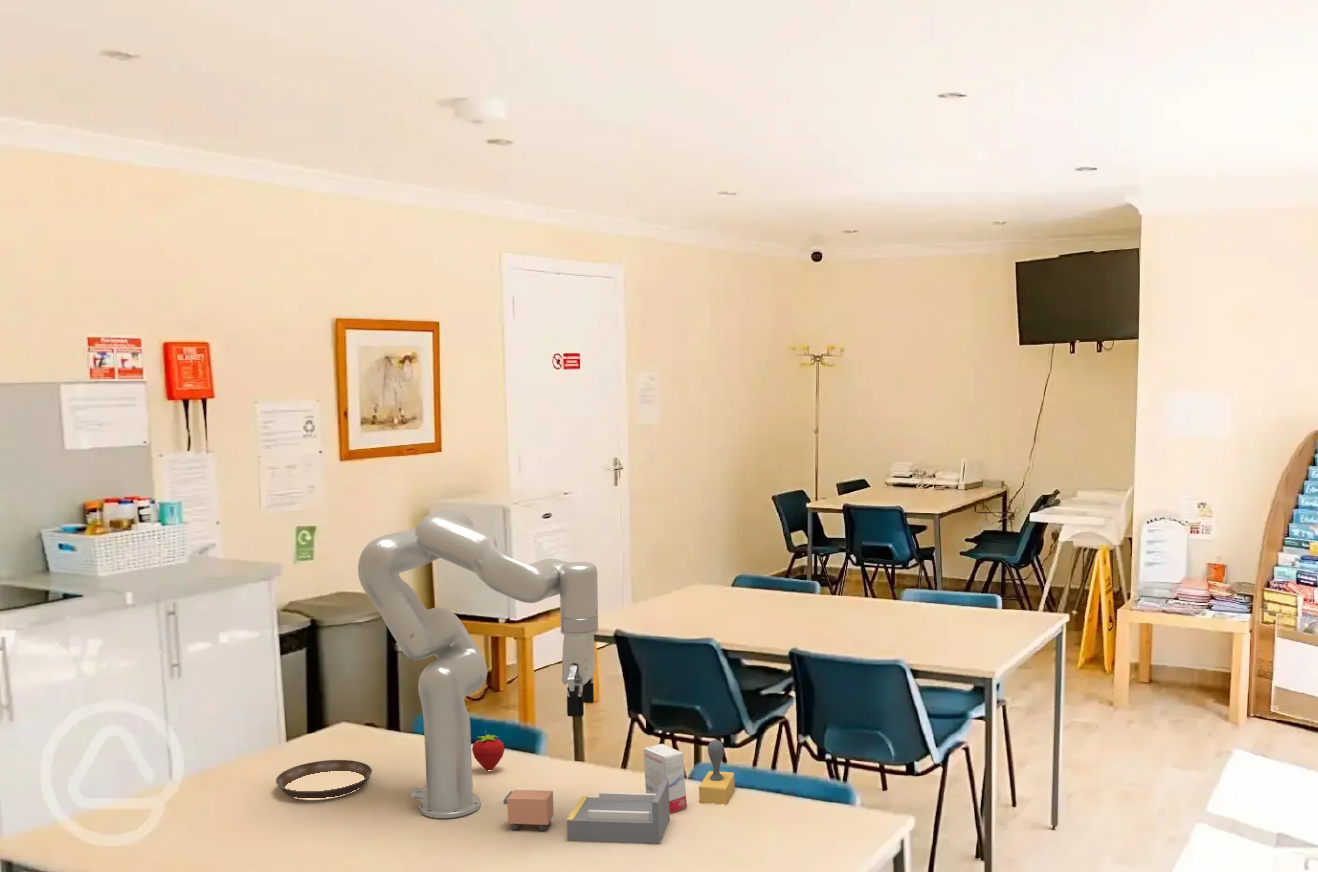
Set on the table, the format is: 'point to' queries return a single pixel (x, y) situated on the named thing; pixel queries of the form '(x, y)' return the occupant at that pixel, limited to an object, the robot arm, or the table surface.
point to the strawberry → (488, 751)
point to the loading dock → (621, 817)
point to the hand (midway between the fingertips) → (580, 709)
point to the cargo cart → (529, 808)
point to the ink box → (666, 774)
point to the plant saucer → (323, 767)
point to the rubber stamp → (716, 778)
